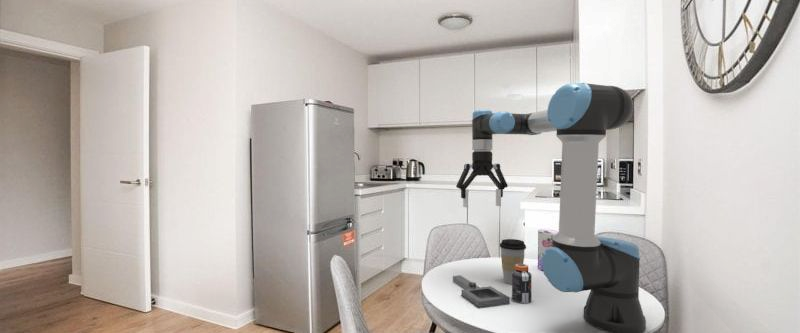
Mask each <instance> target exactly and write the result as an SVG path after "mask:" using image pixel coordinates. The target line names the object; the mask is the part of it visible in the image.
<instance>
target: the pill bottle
mask: <svg viewBox="0 0 800 333" xmlns="http://www.w3.org/2000/svg"><path fill="white" fill-rule="evenodd" d="M515 269H516V270H515V271H513V273H512V284H511V299H512V301H514V302H516V303H520V304H529V303H531V302H532V273H531V272H530V271H529V265H528V264H525V263H523V264H516V265H515Z"/></svg>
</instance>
